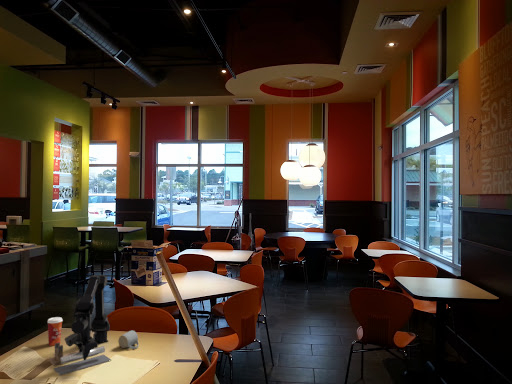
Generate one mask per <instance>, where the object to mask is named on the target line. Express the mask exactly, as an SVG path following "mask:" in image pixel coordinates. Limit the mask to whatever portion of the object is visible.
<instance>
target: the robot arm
mask: <svg viewBox="0 0 512 384" xmlns="http://www.w3.org/2000/svg"><path fill="white" fill-rule="evenodd" d="M107 283H108V277H107V276H106V275H105V274H93V275H92V276H89V277H88V283H87V285H86V289H85V291H84V294H83V296H82V297H80V298H79V300H78V301H77V303H76V304H75V309H74V311H73V312H74V313H73V318H76V319H75V321H74V322H73V323H72V325H71V328H70V329H71V331H72V332H73V333H72V334H69V335H68V336H65V338H64V341H65V345H66V346H68V347H72V346H73V345H74V346H76V347H77V349H78V351H79V352H82V353H83V359H82V360H86V359H88V357H87V356H88V354H89V353H90V351H91V349H93V348H98V345H100V344H102V343H107V342H109V340H108V332H109V331H110V330H111V329H110V328H111V327H110V323H109V320H108V315H107V314H106V313H105V305H104V303H105V299H104V289H105V287H106V286H107ZM94 313H95V314H94ZM92 315H94V318H93V319H92ZM110 332H111V331H110ZM91 333H93V336H91ZM92 338H94V340H90V339H92ZM89 340H90V341H89Z"/></svg>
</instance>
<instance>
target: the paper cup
mask: <svg viewBox="0 0 512 384" xmlns="http://www.w3.org/2000/svg"><path fill="white" fill-rule="evenodd" d="M63 321H64V320H63V318H62V317H60V316H55V317H50V318H48V319H47V335H48V337H47V338H48V346H49V347H55V343H60V344H61V336H62V325H63Z"/></svg>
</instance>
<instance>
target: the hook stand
mask: <svg viewBox="0 0 512 384" xmlns="http://www.w3.org/2000/svg"><path fill="white" fill-rule="evenodd" d="M90 340H94V338H93V337H92V339H90ZM90 340H89V341H90ZM93 349H94V348H93ZM75 353H79V350H76V351H72V352H69V353H64V345H63V344H61V342H60V343H55V346H54V355H53V356H52V357H49V359H48V360H49V362H50V363H51V365H53V366H54V367H55V366H56V367H58V366H62V365H65V363H63V364H61V361H60V359H61V357H64V356H68V355H72V354H75ZM93 356H94V357H95V356H98V354H96V355H93ZM93 356H92V357H93ZM89 357H90V358H91V356H89ZM89 357H88V358H89ZM81 360H83V358H82V359H81ZM75 361H76V360H74V361H71V362H70V363H73V362H75ZM77 361H80V359H78V360H77ZM66 364H69V362H67V363H66Z"/></svg>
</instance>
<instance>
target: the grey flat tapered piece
mask: <svg viewBox="0 0 512 384" xmlns="http://www.w3.org/2000/svg"><path fill="white" fill-rule="evenodd" d="M109 360H111V361H112V359H111V358H110V357H108V356H107V355H105V354H101V355H95V356H94V357H93V356H92V357H90V358H89V357H88V358H86V360H83V359H81V360H77V361H76V362H75V361H74V362H70V363H66V364H63V365H59V366H56V367H54V368H53V370H54V371H55V372H56V373H57V374H58V376H63V375H66V374H69V373H74V372H78V371H81V370H84V369H88V368H91V367H94V366H99V365H101V364H104V363H108V362H110V361H109ZM107 361H108V362H107Z"/></svg>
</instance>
